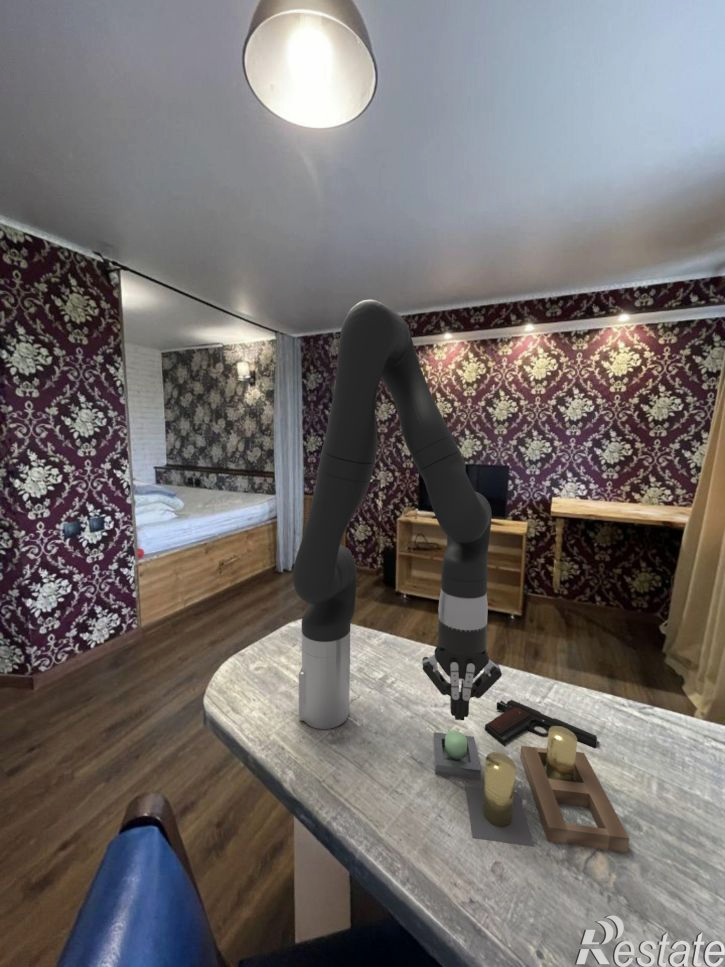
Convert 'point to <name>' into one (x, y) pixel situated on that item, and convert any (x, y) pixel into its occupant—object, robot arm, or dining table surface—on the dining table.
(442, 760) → the button housing
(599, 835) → the brown wooden rectangular frame
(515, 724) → the handgun
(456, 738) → the button
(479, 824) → the mat
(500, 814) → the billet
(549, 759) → the billet seated
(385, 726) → the dining table surface
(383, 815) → the dining table surface
